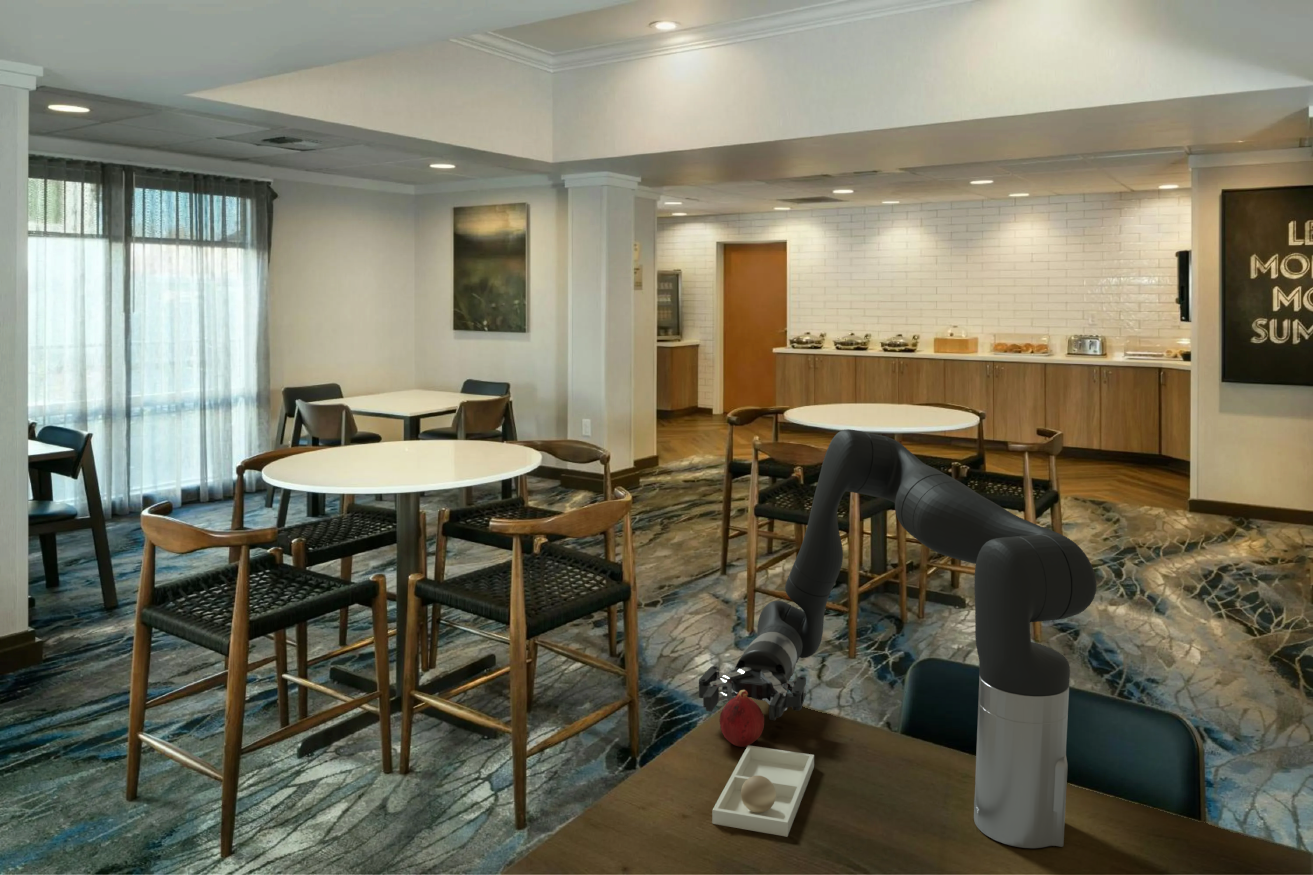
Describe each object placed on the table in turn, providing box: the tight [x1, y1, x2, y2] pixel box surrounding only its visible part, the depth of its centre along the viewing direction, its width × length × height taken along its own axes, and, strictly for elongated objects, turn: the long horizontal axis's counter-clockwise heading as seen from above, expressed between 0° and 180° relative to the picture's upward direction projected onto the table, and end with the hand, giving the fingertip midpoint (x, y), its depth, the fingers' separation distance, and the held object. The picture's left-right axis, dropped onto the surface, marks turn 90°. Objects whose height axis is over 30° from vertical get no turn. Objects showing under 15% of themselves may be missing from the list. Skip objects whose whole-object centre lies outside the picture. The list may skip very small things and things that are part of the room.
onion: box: [719, 690, 765, 748], centre depth 126 cm, size 6×6×8 cm
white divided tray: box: [711, 745, 815, 838], centre depth 113 cm, size 8×16×2 cm, turn 161°
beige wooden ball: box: [741, 776, 776, 813], centre depth 109 cm, size 4×4×4 cm
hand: (739, 708), depth 124 cm, fingers open, 8 cm apart
